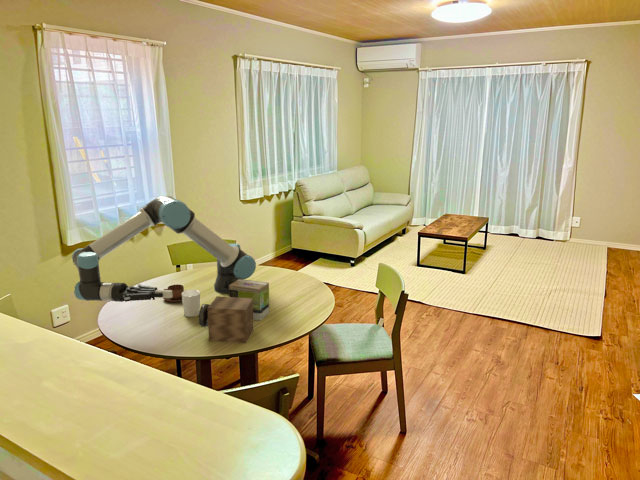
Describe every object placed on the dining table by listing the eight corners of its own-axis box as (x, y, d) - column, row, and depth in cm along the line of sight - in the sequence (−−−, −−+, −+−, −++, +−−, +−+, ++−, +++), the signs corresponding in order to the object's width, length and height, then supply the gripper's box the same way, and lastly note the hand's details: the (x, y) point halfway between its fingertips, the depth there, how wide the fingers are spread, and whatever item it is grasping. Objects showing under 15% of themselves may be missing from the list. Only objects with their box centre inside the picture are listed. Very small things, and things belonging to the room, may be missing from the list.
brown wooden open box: (208, 340, 187) (207, 307, 184) (217, 327, 199) (216, 296, 195) (246, 343, 186) (245, 310, 182) (253, 330, 198) (252, 298, 194)
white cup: (196, 318, 207) (195, 297, 205) (179, 316, 209) (178, 295, 206) (204, 311, 215) (203, 290, 212) (187, 309, 216) (186, 289, 214)
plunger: (199, 330, 188) (198, 309, 186) (206, 320, 197) (205, 300, 194) (239, 332, 187) (238, 311, 185) (244, 323, 196) (244, 302, 193)
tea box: (269, 313, 215) (269, 282, 211) (259, 321, 206) (259, 289, 202) (240, 308, 220) (239, 277, 216) (229, 316, 210) (228, 284, 207)
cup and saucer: (164, 305, 221) (163, 293, 219) (161, 296, 231) (160, 284, 230) (191, 302, 225) (190, 289, 224) (187, 293, 236) (186, 281, 234)
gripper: (123, 294, 199) (178, 296, 197) (107, 307, 187) (165, 309, 185) (121, 277, 197) (177, 279, 195) (105, 289, 185) (164, 291, 183)
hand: (171, 294), depth 190 cm, fingers closed
